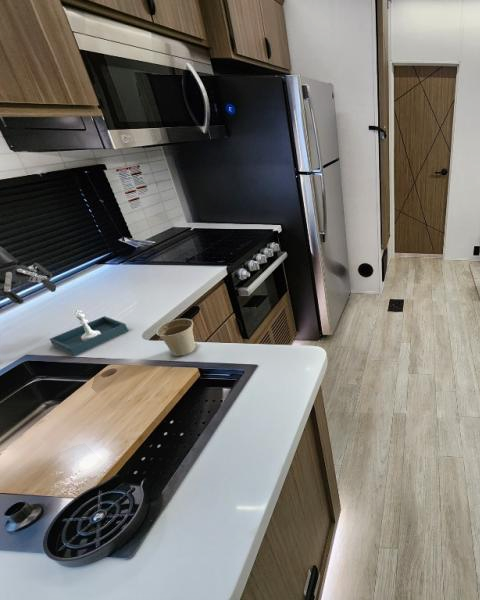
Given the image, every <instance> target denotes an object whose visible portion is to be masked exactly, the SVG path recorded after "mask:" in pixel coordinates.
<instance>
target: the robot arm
mask: <svg viewBox="0 0 480 600" xmlns="http://www.w3.org/2000/svg"><path fill="white" fill-rule="evenodd" d="M52 278H53V273H52V272H50V270H47V268H45V267H44V266H43V265H41V264H40V263H38V262H33V263H32V265H29V266H26V265H23V264H22V263H21V261H19V260H18V259H17V258H15V256H13V255H11V254H10V253H9V252H8V251H7V250H6V249H4V248H3V247H2V246H0V284H2V285H4V286H3V289H0V297H6V298H7V299H8V300H10V301H11V302H13V303H14V304H17V305H18V304H19V305H22V304H24V298H22V297H21V296H20V295H19V294H17V293H16V292H15V291H13V290H12V287H17V286H19V285H21V284H26V283H28V282H30V283H39V284H42V285H43V287H45V288H46V289H47V290H49V291H50V292H51V293H54V292H56V290H57V285H56V284H55V283H53V281H51V280H52ZM11 290H12V291H11Z"/></svg>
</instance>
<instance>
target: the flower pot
mask: <svg viewBox="0 0 480 600" xmlns="http://www.w3.org/2000/svg"><path fill="white" fill-rule="evenodd" d="M193 329H194V321H193V320H192V319H190V318H177V319H172V320H170V321H167V322H165V323H163V324H162V325H160V326H159V327H157V329H156V330H155V334H156V335H157V336H158V337H159V338H160V339H161V340H162V341H163V342H164V344H165V345H166V346H167V348H168V349H169V351H170V352H171V354H172V355H173V356H175V357H179V356H186V355H189V354H191V353H192V352H194V350H195V348H196V342H195V338H194V332H193Z"/></svg>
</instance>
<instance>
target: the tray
mask: <svg viewBox="0 0 480 600" xmlns="http://www.w3.org/2000/svg"><path fill="white" fill-rule="evenodd" d="M86 323H87V324H88V326H89V327H90V328H91V330H94V331H100V333H101V334H99V335H97V336H95V337H93V338H90V339H88V340H86V341H83V340H82V339H81V336H82V335H83V334H85V329H84V327H83V324H81V325H80V326H77V327H75V328H73V329H70V330H67V331H65V332H63V333H60V334H58V335H55V336H53V337H51V338H49V341H50V343H51V345H52V346H53V347H54V348H57V349H59V350H61V351H62V352H65V353H67V354H69V355H71V356H73V357H75V356H77V355H79V354H82V353H83V352H86V351H88V350H90V349H93V348H94V347H97V346H99V345H101V344H104V343H105V342H107V341H110V340H112V339H114V338H116V337H118V336H120V335H122V334H125V333H126V332H128V331H129V328H128V327H127V325H126V323H124V322H122V321H119V320H116V319H114V318H111V317H108V316H106V315H104V316H102V317H98V318H97V319H95V320H92V321H88V322H86Z"/></svg>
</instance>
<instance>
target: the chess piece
mask: <svg viewBox="0 0 480 600" xmlns="http://www.w3.org/2000/svg"><path fill="white" fill-rule="evenodd" d="M82 311H83V310H79V309H75V312H74V314H75V315H76V316H75V318H77V319H78V320H79V322H78V323H79V324H80V325H83V327H84V329H85V334H83V335H82V336H81V339H82V340H83V341H86V340H88V339H90V338H93V337H95V336H97V335H99V334H101V333H100V331H94V330H91V328H90V327H89V326H88V324H87V323H89V320H88V319H85V313H82Z"/></svg>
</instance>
